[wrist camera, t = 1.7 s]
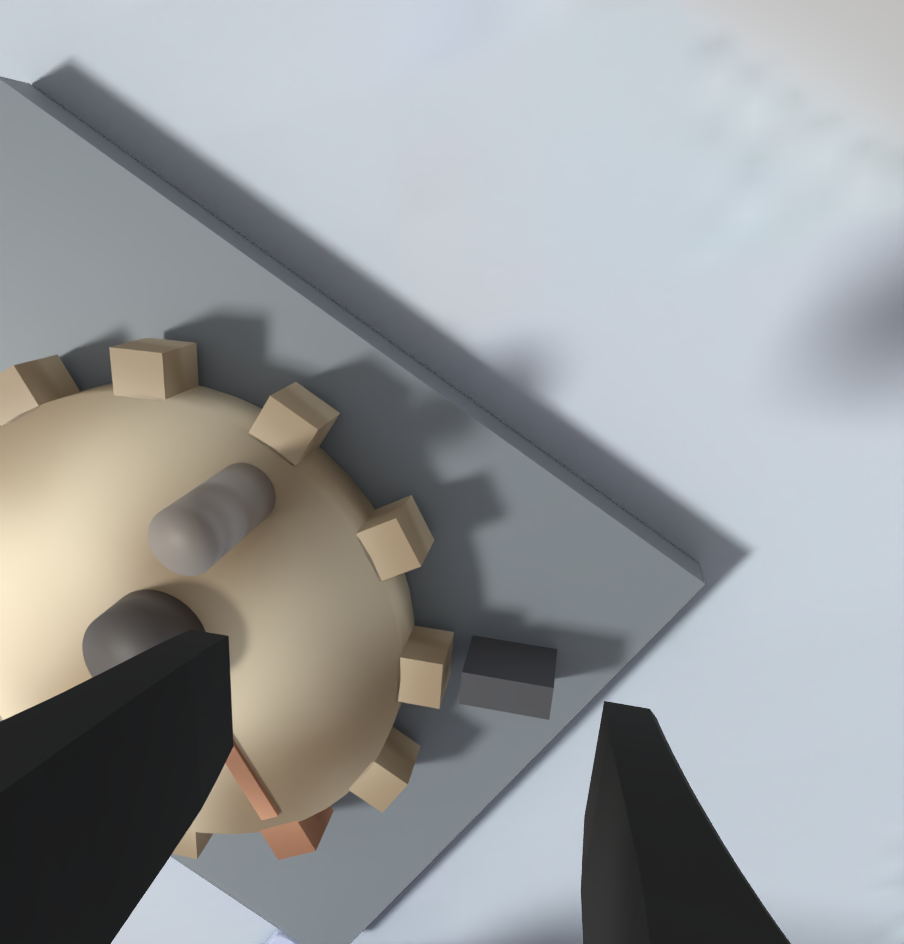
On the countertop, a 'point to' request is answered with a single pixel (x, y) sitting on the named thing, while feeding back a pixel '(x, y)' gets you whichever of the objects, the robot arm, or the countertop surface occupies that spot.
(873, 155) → the countertop surface
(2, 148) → the base board
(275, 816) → the sprocket
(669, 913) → the robot arm
